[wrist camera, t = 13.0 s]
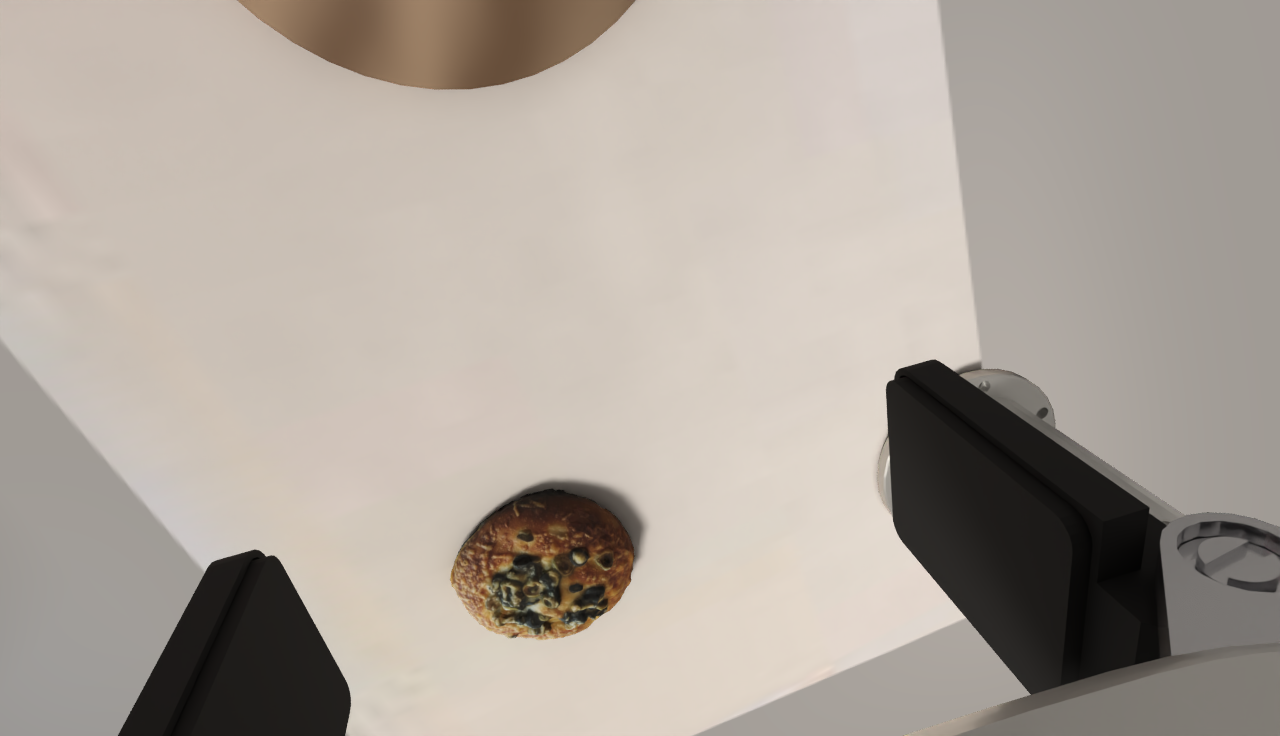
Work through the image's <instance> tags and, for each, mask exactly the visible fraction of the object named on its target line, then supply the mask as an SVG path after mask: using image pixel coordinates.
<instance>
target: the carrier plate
mask: <svg viewBox="0 0 1280 736" xmlns="http://www.w3.org/2000/svg"><path fill="white" fill-rule="evenodd" d="M237 1H239V2H240V3H241V4H242V5H243V6H244V7H246V8H247V9H248V10H249V11H250V12H251V13H253V14H254V15H255V16H256V17H257V18H258V19H260V20H261V21H263V22H264V23H266V24H267V25H269V26H270V27H272V28H273V29H274V30H276V31H277V32H279V33H280V34H282V35H283V36H285V37H286V38H287V39H289V40H290V41H292V42H293V43H295V44H297V45H299V46H301V47H303V48H304V49H306V50H308V51H310V52H312V53H314V54H316V55H318V56H319V57H321V58H323V59H325V60H327V61H329V62H331V63H334V64H336V65H339V66H341V67H344V68H346V69H349V70H351V71H354V72H357V73H359V74H362V75H364V76H368V77H371V78H375V79H379V80H383V81H387V82H391V83H395V84H398V85H404V86H412V87H420V88H428V89H474V88H481V87H487V86H494V85H501V84H505V83H508V82H512V81H515V80H519V79H522V78H525V77H529V76H532V75H535V74H537V73H539V72H541V71H544V70H546V69H548V68H550V67H552V66H554V65H557V64H559V63H561V62H563V61H565V60H566V59H568V58H569V57H571V56H573V55H574V54H576V53H577V52H579V51H580V50H582V49H583V48H585V47H586V46H588V45H590V44H591V43H592V42H593V41H595V40H596V39H597V38H598V37H599V36H600V35H602V34H603V33H604V32H605V31H606V30H607V29H609V28H610V27H611V26H612V25H613V24H614V23H615V22H617V20H618V19H619V18H620V17H621V16H622V15H623V14H624V13H625V11H626V10H627V9H628V8H629V7H630V6H631V5H632V4H633V2H634V1H635V0H237Z"/></svg>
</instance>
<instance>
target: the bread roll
mask: <svg viewBox="0 0 1280 736" xmlns="http://www.w3.org/2000/svg"><path fill="white" fill-rule="evenodd" d="M521 498H522V499H521ZM521 498H520V499H521V500H518V501H512V502H511V503H509V504H507V505H505V506H503V508H500V509H499V510H498V511H496V512H495V513H494V514H492V515H491V516H490V517H489V518H487V519H486V520H485V522H484V521H483V522H482V523H481V524H480V526H479V528H478V530H477V531H476V532H475V533H474V534H473V536H472V537H471V538H470V539H468V540H467V541H466V543H464V545H462V548H461V549H460V551H459V552H458V555H457V558H456V559H455V563H454V566H453V569H452V571H451V578H450V581H451V583H452V587H454V588H455V590H456V592H457V595H458V597H459V598H460V599H461V600H462V602H463V604H464V606H465V607H466V609H467V610H468V612H469V614H470V615H471V616H473V617H474V618H475V619H476V620H477V621H478V622H479V624H481V625H483V626H484V627H485V628H486V629H487V630H489V631H493V632H495V633H497V634H501V635H505V636H506V637H507V638H516V637H524V638H534V639H537V640H546V639H555V638H562V637H565V636H569V635H573V634H576V633H578V632H580V631H582V630H584V629H586V628H588V627H589V626H590V625H591V624H592V622H593V621H595V620H596V619H597V618H599V617H600V616H601V615H602V614H604V613H606V612H608V611H610V610H611V609H612V608H613V607H614V606H615V604H616V603H617V602H618V601H619V600H620V599H621V597H622V595H623V593H624V591H625V589H626V587H627V586H628V585H629V584H630V582H631V571H632V570H633V560H634V557H635V556H634V547H633V545H632V542H631V539H630V536H629V534H628V533H627V531H626V530H625V529H624V527H623V526H622V524H621V522H620V521H619V520H618V519H617V517H616V516H615V515H613V514H612V513H611V512H610V511H608V510H607V509H604V508H601V507H600V506H599V505H598V504H597V503H596V502H594V501H592V500H590V499H586V498H582V497H578V496H577V495H574V494H568V493H566V492H564V490H557V491H555V490H554V489H548V490H544V491H541V492H536V493H533V494H529V495H528V494H527V495H525V496H523V497H521Z"/></svg>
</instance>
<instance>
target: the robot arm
mask: <svg viewBox="0 0 1280 736" xmlns="http://www.w3.org/2000/svg"><path fill="white" fill-rule="evenodd" d="M886 399H887V418H888V438H887V440H886V442H885V444H884V446H883V449H882V452H881V456H880V459H879V463H878V472H877V481H878V490H879V494H880V496H881V499H882V502H883V504H884V505H885V507H886V508H887V510H888V511H889V512H890V514H891V515H892V516H893V522H894V526H895V529H896V531H897V534H898V535H899V537H900V539H901V540H902V542H903V543H904V544H905V545H906V547H907V548H908V549H909V550H910V551H911V553H912V554H913V555H914V556H915V557H916V559H917V560H918V561H919V562H920V563H921V565H922V566H923V567H924V568H925V569H926V570H927V572H928V573H929V574H930V575H931V576H932V578H933V579H934V580H935V581H936V582H937V584H938V585H939V586H940V587H941V588H942V589H943V591H944V592H945V593H946V594H947V595H948V597H949V598H950V599H951V600H952V601H953V603H954V604H955V605H956V606H957V607H958V609H959V610H960V611H961V612H962V613H963V614H964V616H965V617H966V618H967V619H968V620H969V622H970V623H971V624H972V625H973V626H974V628H976V630H977V631H978V632H979V634H980V635H981V636H982V637H983V638H984V639H985V641H986V642H987V643H988V644H989V645H990V647H991V648H992V649H993V650H994V651H995V653H996V654H997V655H998V656H999V657H1000V659H1001V660H1002V661H1003V662H1004V663H1005V664H1006V666H1007V667H1008V668H1009V669H1010V670H1011V671H1012V673H1013V674H1014V675H1015V676H1016V677H1017V679H1018V680H1019V681H1020V682H1021V683H1022V685H1023V686H1024V687H1025V688H1026V689H1027V691H1028V692H1029V693H1030V694H1031V695H1029V696H1027V697H1023V698H1020V699H1017V700H1013V701H1010V702H1007V703H1003V704H1000V705H997V706H993V707H990V708H987V709H984V710H981V711H977V712H974V713H971V714H968V715H965V716H962V717H959V718H956V719H953V720H950V721H947V722H944V723H941V724H937V725H935V726H931V727H928V728H925V729H922V730H919V731H916V732H913V733H910V734H906V735H903V736H1280V527H1278V526H1274V525H1272V524H1269V523H1266V522H1264V521H1261V520H1258V519H1255V518H1250V517H1245V516H1239V515H1235V514H1229V513H1209V512H1207V513H1198V514H1191V515H1186V516H1185V515H1184V514H1182V513H1181V512H1179V511H1178V510H1176V509H1175V508H1173V507H1172V506H1170V505H1169V504H1167V503H1166V502H1164V501H1163V500H1161V499H1160V498H1158V497H1157V496H1155V495H1154V494H1152V493H1151V492H1149V491H1148V490H1146V489H1145V488H1143V487H1142V486H1140V485H1139V484H1137V483H1136V482H1135V481H1133V480H1131V479H1130V478H1129V477H1127V476H1125V475H1124V474H1123V473H1121V472H1120V471H1118V470H1117V469H1115V468H1113V467H1112V466H1111V465H1109V464H1108V463H1106V462H1105V461H1103V460H1102V459H1100V458H1099V457H1097V456H1096V455H1094V454H1093V453H1091V452H1090V451H1088V450H1087V449H1085V448H1084V447H1082V446H1080V445H1079V444H1078V443H1076V442H1075V441H1073V440H1072V439H1070V438H1069V437H1067V436H1066V435H1064V434H1063V433H1061V432H1060V431H1058V430H1057V429H1055V419H1054V413H1053V409H1052V406H1051V404H1050V402H1049V400H1048V398H1047V396H1046V395H1045V394H1044V393H1043V392H1042V391H1041V390H1040V388H1039V387H1038V386H1036V385H1034V384H1033V383H1032V382H1030V381H1028V380H1027V379H1026V378H1024V377H1022V376H1020V375H1017V374H1015V373H1013V372H1010V371H1005V370H1000V369H980V370H976V371H971V372H966V373H963V374H960V375H958V374H957V373H956V372H954V371H953V370H951V369H950V368H948V367H947V366H945V365H944V364H943V363H941V362H939V361H937V360H929V361H926V362H922V363H918V364H915V365H911V366H908V367H904V368H901V369H899V370H898V371H897V372H896V374H895V379H894V380H892V381H889V382H888V383H887V386H886ZM350 707H351V697H350V691H349V687H348V684H347V682H346V680H345V678H344V676H343V675H342V673H341V671H340V669H339V667H338V665H337V664H336V662H335V660H334V658H333V656H332V655H331V653H330V651H329V649H328V647H327V645H326V644H325V642H324V640H323V638H322V636H321V635H320V633H319V631H318V629H317V627H316V625H315V624H314V622H313V620H312V618H311V616H310V615H309V613H308V611H307V609H306V607H305V605H304V604H303V602H302V600H301V598H300V596H299V595H298V593H297V591H296V589H295V587H294V585H293V584H292V582H291V580H290V578H289V576H288V575H287V573H286V571H285V569H284V567H283V565H282V564H281V562H280V561H279V559H278V558H277V557H275V556H272V555H271V556H268V557H266V556H265V555H264V554H263V553H262V552H261V551H259V550H252V551H248V552H245V553H241V554H237V555H234V556H230V557H227V558H223V559H220V560H216V561H214V562H212V563H211V564H210V565H209V567H208V568H207V570H206V572H205V574H204V576H203V578H202V580H201V581H200V583H199V585H198V587H197V589H196V591H195V593H194V594H193V596H192V598H191V600H190V602H189V604H188V606H187V607H186V609H185V611H184V613H183V615H182V617H181V619H180V621H179V622H178V624H177V627H176V628H175V630H174V632H173V634H172V636H171V638H170V639H169V641H168V643H167V645H166V647H165V649H164V651H163V653H162V654H161V656H160V658H159V660H158V662H157V664H156V666H155V667H154V669H153V671H152V673H151V675H150V677H149V679H148V680H147V682H146V684H145V686H144V688H143V690H142V692H141V693H140V695H139V697H138V699H137V701H136V703H135V705H134V707H133V708H132V711H131V712H130V714H129V716H128V718H127V720H126V722H125V724H124V725H123V727H122V729H121V731H120V733H119V735H118V736H345V733H346V728H347V723H348V718H349V714H350Z"/></svg>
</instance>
